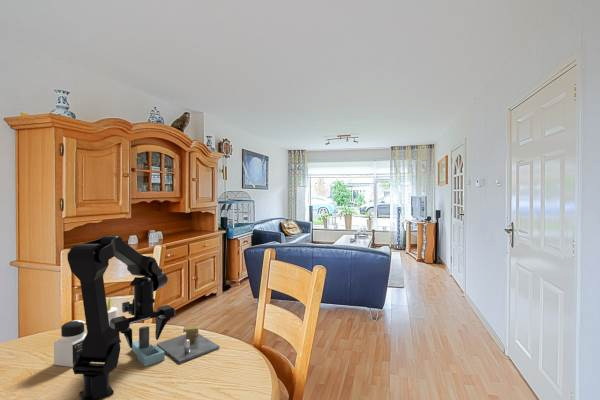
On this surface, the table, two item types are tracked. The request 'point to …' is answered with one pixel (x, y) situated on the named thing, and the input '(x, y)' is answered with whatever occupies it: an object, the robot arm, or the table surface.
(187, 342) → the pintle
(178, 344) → the base plate
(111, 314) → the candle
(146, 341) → the link
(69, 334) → the medicine bottle
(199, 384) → the table surface
